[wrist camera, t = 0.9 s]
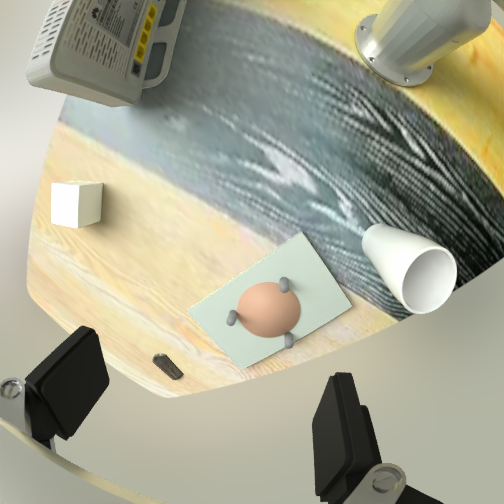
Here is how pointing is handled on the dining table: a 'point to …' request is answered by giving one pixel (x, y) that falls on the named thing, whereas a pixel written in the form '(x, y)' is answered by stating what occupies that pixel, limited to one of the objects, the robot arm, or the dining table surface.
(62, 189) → the white cube
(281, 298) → the pin nest plate
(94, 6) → the network device
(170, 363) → the block
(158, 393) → the dining table surface
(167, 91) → the dining table surface
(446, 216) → the dining table surface
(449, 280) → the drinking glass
